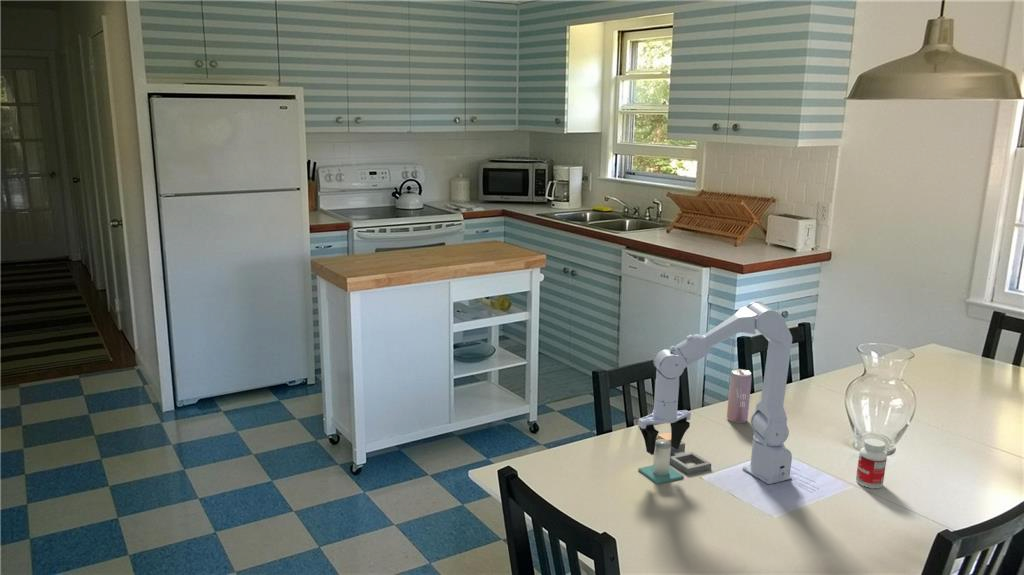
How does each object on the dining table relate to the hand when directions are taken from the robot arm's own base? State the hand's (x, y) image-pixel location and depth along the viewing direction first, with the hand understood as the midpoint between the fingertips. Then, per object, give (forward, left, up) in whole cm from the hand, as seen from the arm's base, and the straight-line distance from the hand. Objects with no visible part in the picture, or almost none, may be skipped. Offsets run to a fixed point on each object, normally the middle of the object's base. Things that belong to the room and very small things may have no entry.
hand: (662, 450), depth 193 cm
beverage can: (+20, -43, -7) cm, 48 cm away
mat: (0, 0, -7) cm, 7 cm away
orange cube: (+11, -10, -6) cm, 16 cm away
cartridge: (0, 0, -6) cm, 6 cm away
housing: (+6, -10, -7) cm, 13 cm away
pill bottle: (-25, -45, -7) cm, 52 cm away
